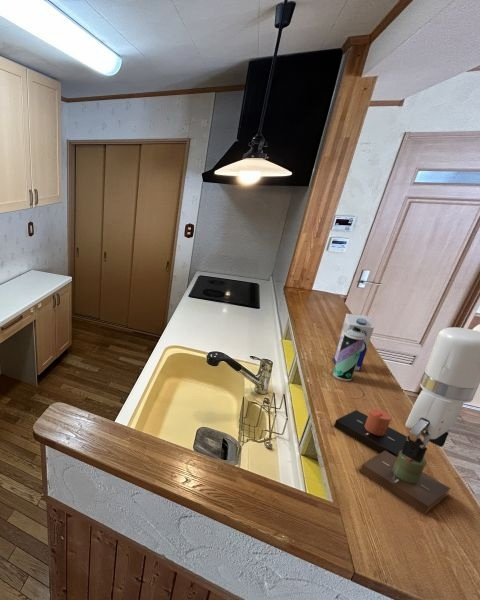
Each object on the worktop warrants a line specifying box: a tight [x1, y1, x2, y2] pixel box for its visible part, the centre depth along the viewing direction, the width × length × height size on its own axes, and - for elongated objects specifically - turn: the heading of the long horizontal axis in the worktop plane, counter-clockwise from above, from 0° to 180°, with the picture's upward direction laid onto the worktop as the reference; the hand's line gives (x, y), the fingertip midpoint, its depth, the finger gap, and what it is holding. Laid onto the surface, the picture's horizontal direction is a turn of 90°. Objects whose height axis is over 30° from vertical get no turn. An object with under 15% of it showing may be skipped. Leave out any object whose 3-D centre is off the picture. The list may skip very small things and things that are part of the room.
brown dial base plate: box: [359, 451, 451, 515], centre depth 76 cm, size 12×10×3 cm
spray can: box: [332, 326, 365, 382], centre depth 114 cm, size 6×6×20 cm
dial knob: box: [364, 408, 393, 436], centre depth 88 cm, size 4×4×6 cm
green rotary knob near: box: [392, 450, 427, 483], centre depth 74 cm, size 4×4×6 cm
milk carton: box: [333, 313, 375, 372], centre depth 121 cm, size 7×7×20 cm
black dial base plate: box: [333, 409, 408, 457], centre depth 89 cm, size 14×10×3 cm
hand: (422, 449), depth 73 cm, fingers open, 9 cm apart
